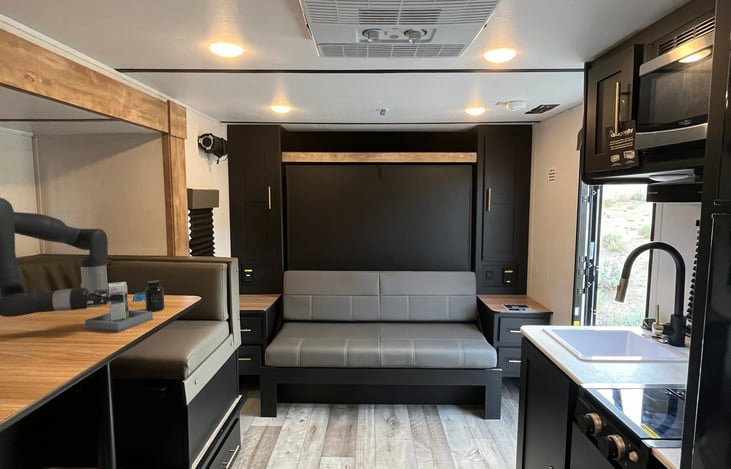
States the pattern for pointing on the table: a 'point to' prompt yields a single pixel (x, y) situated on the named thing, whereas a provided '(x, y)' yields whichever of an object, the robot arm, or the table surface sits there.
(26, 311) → the robot arm
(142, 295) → the handheld gaming device
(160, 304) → the supplement bottle
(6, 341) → the table surface
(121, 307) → the syrup box
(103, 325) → the tray
